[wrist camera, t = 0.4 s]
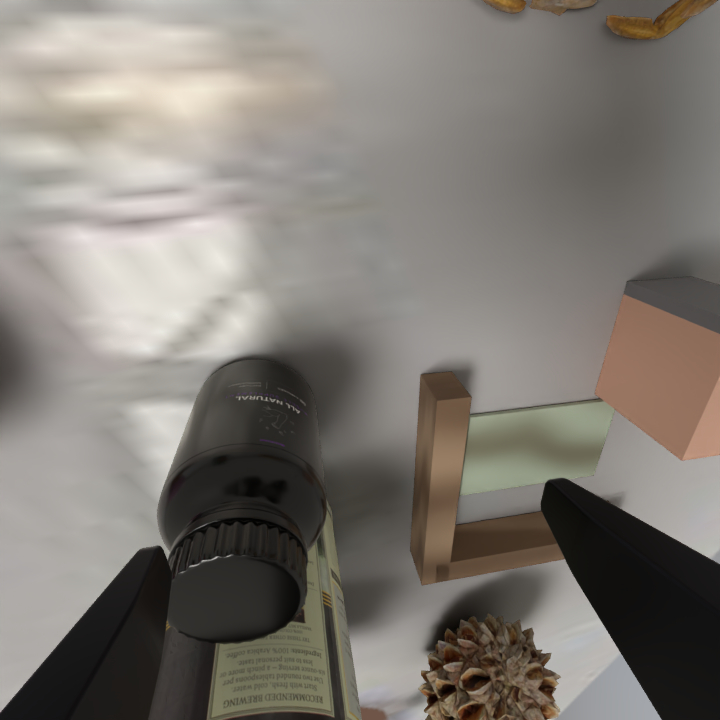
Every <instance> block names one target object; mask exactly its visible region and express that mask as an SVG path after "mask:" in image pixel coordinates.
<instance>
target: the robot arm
mask: <svg viewBox="0 0 720 720" xmlns="http://www.w3.org/2000/svg"><path fill="white" fill-rule="evenodd" d="M541 510H542V513H543V515H544V517H545V520H546V522H547V524H548V526H549V528H550V530H551V532H552V534H553V536H554V538H555V540H556V542H557V544H558V546H559V548H560V550H561V552H562V554H563V556H564V558H565V560H566V562H567V564H568V566H569V568H570V570H571V572H572V574H573V575H574V577H575V579H576V581H577V582H578V584H579V586H580V587H581V589H582V590H583V592H584V594H585V595H586V597H587V599H588V600H589V602H590V604H591V605H592V607H593V608H594V610H595V612H596V613H597V615H598V617H599V618H600V620H601V621H602V623H603V625H604V626H605V628H606V630H607V631H608V633H609V634H610V636H611V638H612V639H613V641H614V643H615V644H616V646H617V648H618V649H619V651H620V652H621V654H622V656H623V657H624V659H625V661H626V662H627V664H628V665H629V667H630V668H631V670H632V672H633V674H634V675H635V677H636V678H637V680H638V682H639V683H640V685H641V687H642V688H643V690H644V692H645V693H646V695H647V696H648V698H649V700H650V701H651V703H652V705H653V706H654V708H655V709H656V711H657V713H658V714H659V716H660V718H661V719H662V720H720V564H718V563H717V562H715V561H713V560H711V559H709V558H708V557H706V556H704V555H702V554H700V553H699V552H697V551H695V550H693V549H692V548H690V547H688V546H686V545H684V544H683V543H681V542H679V541H677V540H675V539H674V538H672V537H670V536H668V535H666V534H665V533H663V532H661V531H659V530H657V529H656V528H654V527H652V526H650V525H648V524H647V523H645V522H643V521H641V520H640V519H638V518H636V517H634V516H632V515H631V514H629V513H627V512H625V511H623V510H622V509H620V508H618V507H616V506H614V505H613V504H611V503H609V502H607V501H605V500H604V499H602V498H600V497H598V496H596V495H595V494H593V493H591V492H589V491H588V490H586V489H584V488H582V487H580V486H579V485H577V484H575V483H573V482H571V481H570V480H568V479H566V478H555V479H549V480H547V482H546V483H545V487H544V491H543V496H542V500H541ZM171 581H172V573H171V569H170V566H169V563H168V561H167V558H166V556H165V553H164V550H163V549H162V547H161V546H153V547H147V548H142V549H140V550H139V551H138V552H137V553H136V554H135V555H134V556H133V557H132V558H131V560H130V561H129V562H128V563H127V564H126V566H125V567H124V568H123V569H122V570H121V571H120V573H119V574H118V575H117V576H116V577H115V578H114V580H113V581H112V582H111V583H110V584H109V586H108V587H107V588H106V589H105V590H104V591H103V593H102V594H101V595H100V596H99V597H98V598H97V600H96V601H95V602H94V603H93V604H92V605H91V607H90V608H89V609H88V610H87V611H86V613H85V614H84V615H83V616H82V617H81V618H80V620H79V621H78V622H77V623H76V624H75V625H74V627H73V628H72V629H71V630H70V631H69V633H68V634H67V635H66V636H65V637H64V638H63V640H62V641H61V642H60V643H59V644H58V645H57V647H56V648H55V649H54V650H53V651H52V652H51V654H50V655H49V656H48V657H47V658H46V660H45V661H44V662H43V663H42V664H41V665H40V667H39V668H38V669H37V670H36V671H35V672H34V674H33V675H32V676H31V677H30V678H29V680H28V681H27V682H26V683H25V684H24V685H23V687H22V688H21V689H20V690H19V691H18V692H17V694H16V695H15V696H14V697H13V698H12V700H11V701H10V702H9V703H8V704H7V705H6V707H5V708H4V709H3V710H2V711H1V712H0V720H148V719H149V714H150V710H151V706H152V701H153V697H154V692H155V688H156V684H157V679H158V675H159V670H160V665H161V660H162V654H163V647H164V639H165V631H166V623H167V615H168V606H169V598H170V590H171Z"/></svg>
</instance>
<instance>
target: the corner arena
mask: <svg viewBox="0 0 720 720" xmlns="http://www.w3.org/2000/svg"><path fill="white" fill-rule="evenodd" d="M471 398H472V397H471V396H470V394H469V393H468V392H467V391H466V389H465V388H464V387H463V385H462V384H461V383H460V382H459V380H458V379H457V378H456V377H455V375H454V374H453V373H452V372H442V373H432V374H423V375H421V377H420V394H419V411H418V427H417V444H416V461H415V478H414V495H413V511H412V528H411V545H410V551H411V554H412V557H413V560H414V563H415V566H416V569H417V572H418V575H419V578H420V581H421V584H422V585H427V584H432V583H437V582H443V581H448V580H454V579H459V578H465V577H470V576H476V575H481V574H486V573H492V572H497V571H503V570H508V569H514V568H519V567H524V566H530V565H535V564H541V563H546V562H552V561H557V560H563V559H565V558H564V556H563V554H562V552H561V550H560V548H559V546H558V544H557V542H556V540H555V538H554V536H553V534H552V532H551V530H550V528H549V526H548V524H547V522H546V520H545V517H544V515H543V513H542V511H541V512H535V513H529V514H523V515H516V516H510V517H504V518H498V519H492V520H486V521H480V522H474V523H467V524H461V525H455V522H456V514H457V506H458V498H459V495H460V496H461V495H468V494H475V493H481V492H488V491H494V490H501V489H507V488H514V487H521V486H527V485H534V484H540V483H546V482H547V480H549V479H555V478H566V479H573V478H580V477H586V476H593V475H594V473H595V470H596V467H597V464H598V461H599V458H600V455H601V452H602V449H603V446H604V443H605V439H606V436H607V433H608V430H609V427H610V424H611V421H612V418H613V415H614V412H615V409H614V408H613V407H611V406H610V405H609V404H607V403H606V402H605V401H603V400H602V399H598V400H589V401H581V402H573V403H565V404H556V405H548V406H540V407H532V408H524V409H515V410H507V411H499V412H491V413H482V414H474V415H469V413H470V406H471ZM607 502H609V501H607ZM609 503H610V502H609Z"/></svg>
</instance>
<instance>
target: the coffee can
mask: <svg viewBox="0 0 720 720" xmlns="http://www.w3.org/2000/svg"><path fill="white" fill-rule="evenodd" d="M307 588H308V591H307V596H306V601H305V605H304V606H303V607H302V608H301V613H299V614H298V615H297V616H296V617H295V619H294V621H292V622H290V623H288V625H287V626H286V627H285V628H282V629H280V630H279V631H277V632H276V633H274V634H271V635H268V636H266V637H265V638H261V639H256V640H254V641H252V642H243V643H240V644H233V643H231V644H220V643H214V644H211V643H208V642H202V641H197V640H196V639H193V638H188V637H186V636H185V635H184V634H181V633H178V632H177V631H176V630H175V628H173V627H171V626H169V624H168V621H167V623H166V631H165V639H164V647H163V654H162V660H161V665H160V670H159V675H158V679H157V684H156V688H155V692H154V697H153V701H152V706H151V710H150V714H149V719H148V720H362V718H361V712H360V705H359V698H358V692H357V685H356V678H355V671H354V664H353V658H352V652H351V645H350V638H349V631H348V625H347V618H346V612H345V605H344V597H343V591H342V586H341V579H340V572H339V565H338V558H337V551H336V545H335V538H334V532H333V517H332V510H331V507H330V506H329V503H328V501H327V515H326V521H325V524H324V527H323V529H322V532H321V534H320V536H319V538H318V539H317V541H316V543H315V544H314V545H313V547H312V548H311V549H310V550H309V551H308V565H307Z"/></svg>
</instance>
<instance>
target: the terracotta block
mask: <svg viewBox="0 0 720 720" xmlns="http://www.w3.org/2000/svg"><path fill="white" fill-rule="evenodd" d="M595 394H596V395H597V396H598V397H599V398H601V399H602V400H603V401H605V402H606V403H607V404H609V405H610V406H611V407H613V408H614V409H615V410H616V411H618V412H619V413H620V414H622V415H623V416H624V417H626V418H627V419H628V420H629V421H631V422H632V423H633V424H635V425H636V426H637V427H639V428H640V429H641V430H642V431H644V432H645V433H646V434H648V435H649V436H650V437H652V438H653V439H654V440H655V441H657V442H658V443H659V444H661V445H662V446H663V447H665V448H666V449H667V450H669V451H670V452H671V453H672V454H674V455H675V456H676V457H678V458H679V459H680V460H682V461H683V460H690V459H696V458H703V457H709V456H716V455H720V285H717V284H714V283H711V282H707V281H704V280H701V279H698V278H694V277H680V278H666V279H653V280H639V281H627V284H626V288H625V291H624V294H623V298H622V301H621V305H620V308H619V312H618V315H617V318H616V322H615V325H614V329H613V332H612V336H611V339H610V342H609V346H608V349H607V353H606V356H605V360H604V363H603V366H602V370H601V373H600V377H599V380H598V384H597V387H596V390H595Z"/></svg>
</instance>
